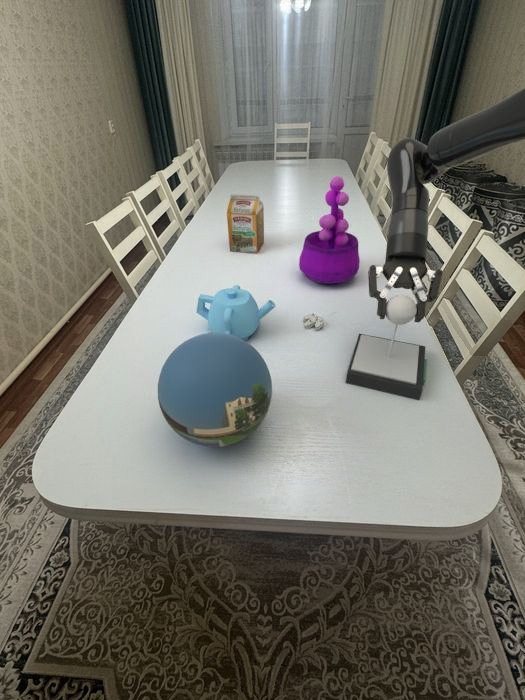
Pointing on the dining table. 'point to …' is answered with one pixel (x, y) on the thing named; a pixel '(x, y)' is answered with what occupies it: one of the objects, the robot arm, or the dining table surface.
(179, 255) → the dining table surface
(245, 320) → the teapot
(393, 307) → the lollipop
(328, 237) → the decorative plant
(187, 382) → the decorative sphere
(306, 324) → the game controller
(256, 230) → the milk carton
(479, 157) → the robot arm
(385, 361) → the scale
